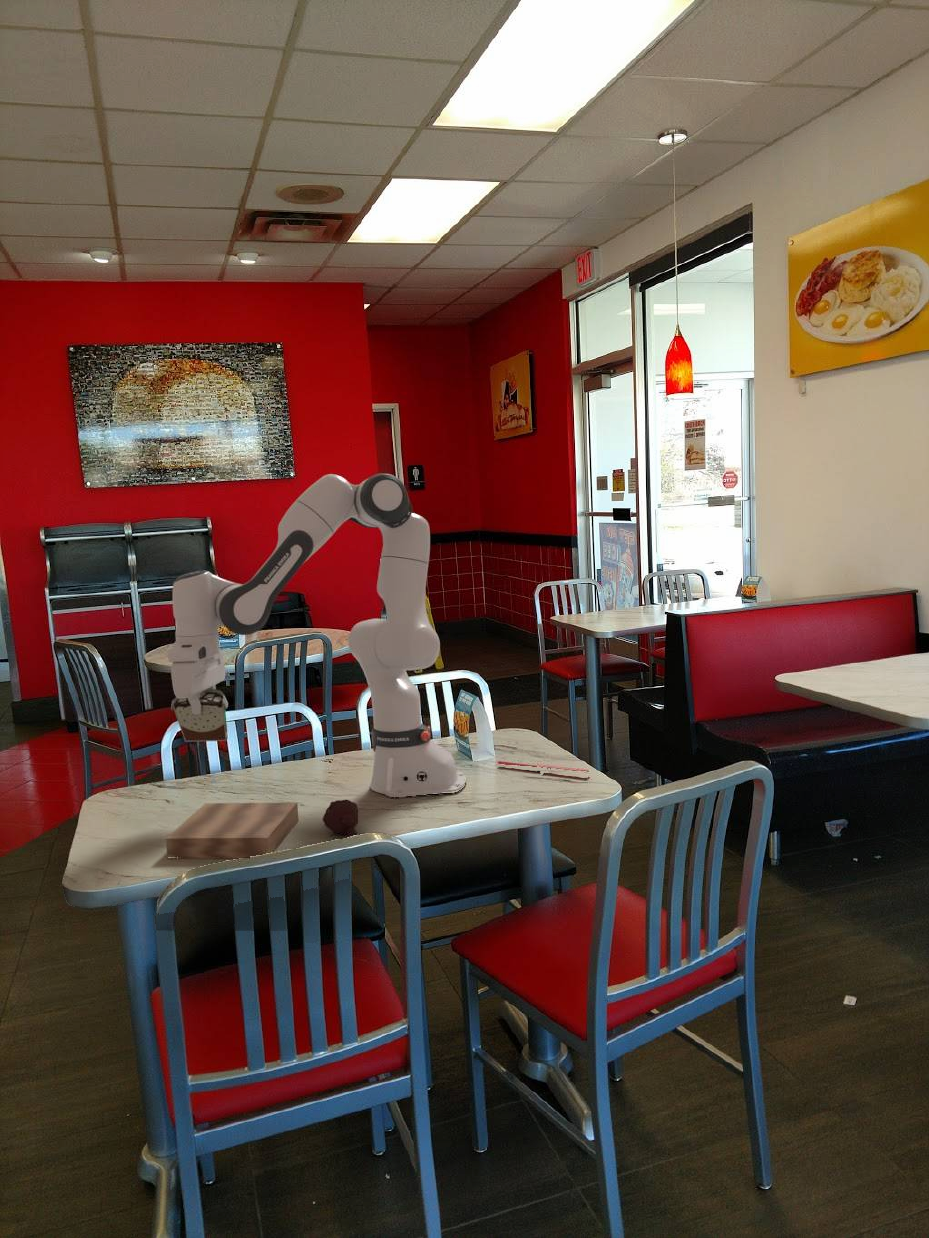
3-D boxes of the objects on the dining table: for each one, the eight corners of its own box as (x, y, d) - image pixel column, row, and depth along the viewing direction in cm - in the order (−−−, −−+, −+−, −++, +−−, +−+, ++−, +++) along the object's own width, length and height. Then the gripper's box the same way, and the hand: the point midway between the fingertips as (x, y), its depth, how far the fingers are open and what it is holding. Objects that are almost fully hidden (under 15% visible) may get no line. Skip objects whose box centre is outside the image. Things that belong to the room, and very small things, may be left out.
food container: (241, 726, 201) (234, 686, 197) (233, 740, 195) (225, 700, 191) (188, 727, 202) (179, 688, 198) (178, 741, 196) (169, 701, 192)
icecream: (310, 795, 186) (329, 823, 173) (343, 781, 189) (365, 808, 175) (319, 823, 188) (339, 854, 175) (352, 809, 191) (374, 838, 177)
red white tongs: (584, 785, 208) (592, 774, 212) (583, 778, 207) (590, 766, 211) (493, 773, 220) (502, 763, 224) (492, 766, 220) (500, 756, 223)
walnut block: (298, 820, 190) (297, 802, 189) (269, 858, 170) (267, 837, 170) (207, 821, 192) (205, 803, 191) (167, 858, 172) (165, 838, 172)
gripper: (202, 639, 204) (208, 699, 206) (163, 655, 184) (170, 721, 185) (229, 638, 203) (234, 698, 205) (193, 654, 183) (199, 720, 185)
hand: (203, 709), depth 195 cm, fingers closed on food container, 5 cm apart
